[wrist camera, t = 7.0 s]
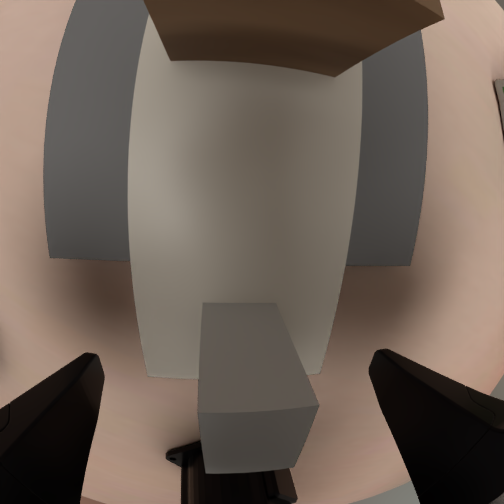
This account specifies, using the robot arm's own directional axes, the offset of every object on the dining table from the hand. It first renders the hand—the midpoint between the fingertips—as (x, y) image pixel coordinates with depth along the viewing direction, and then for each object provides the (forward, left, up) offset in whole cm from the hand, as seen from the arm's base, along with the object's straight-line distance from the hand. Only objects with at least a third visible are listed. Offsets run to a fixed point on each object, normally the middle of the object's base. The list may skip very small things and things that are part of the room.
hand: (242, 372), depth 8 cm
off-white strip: (+4, +6, -3) cm, 7 cm away
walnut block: (+7, +9, -2) cm, 12 cm away
